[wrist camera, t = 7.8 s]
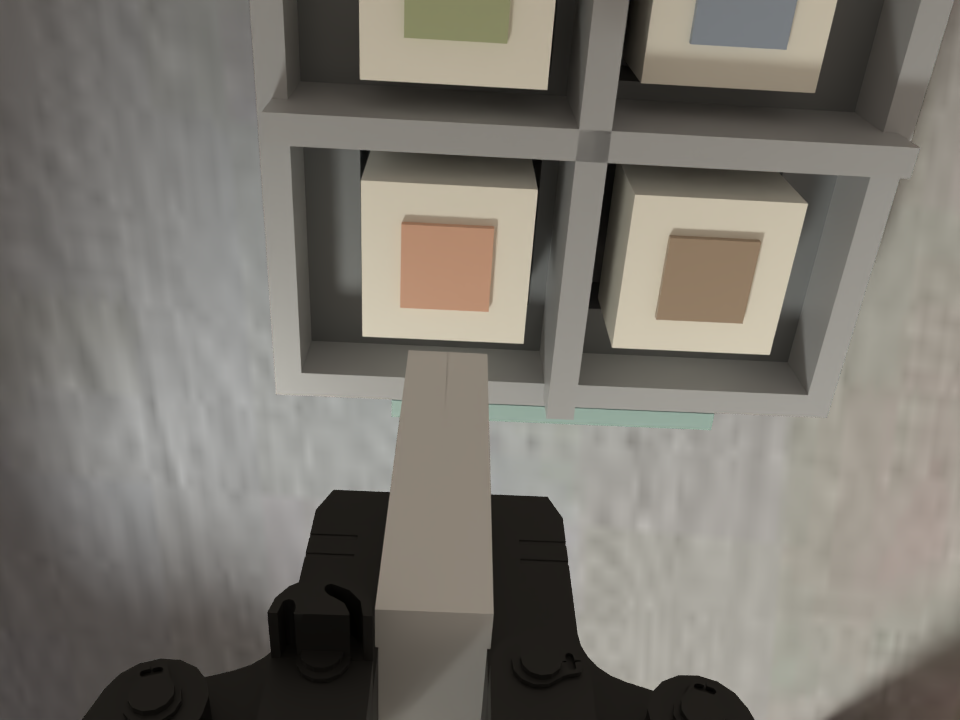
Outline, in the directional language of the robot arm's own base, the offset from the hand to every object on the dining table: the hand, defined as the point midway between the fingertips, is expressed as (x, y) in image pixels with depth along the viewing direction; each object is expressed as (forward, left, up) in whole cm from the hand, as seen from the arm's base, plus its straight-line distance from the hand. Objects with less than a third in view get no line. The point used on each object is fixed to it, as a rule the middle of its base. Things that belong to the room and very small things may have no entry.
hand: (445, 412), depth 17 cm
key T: (+7, +7, -12) cm, 15 cm away
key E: (+7, 0, -11) cm, 13 cm away
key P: (0, +7, -10) cm, 13 cm away
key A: (0, 0, -11) cm, 11 cm away
